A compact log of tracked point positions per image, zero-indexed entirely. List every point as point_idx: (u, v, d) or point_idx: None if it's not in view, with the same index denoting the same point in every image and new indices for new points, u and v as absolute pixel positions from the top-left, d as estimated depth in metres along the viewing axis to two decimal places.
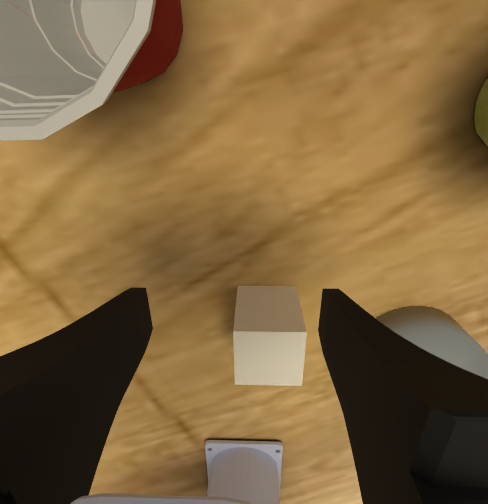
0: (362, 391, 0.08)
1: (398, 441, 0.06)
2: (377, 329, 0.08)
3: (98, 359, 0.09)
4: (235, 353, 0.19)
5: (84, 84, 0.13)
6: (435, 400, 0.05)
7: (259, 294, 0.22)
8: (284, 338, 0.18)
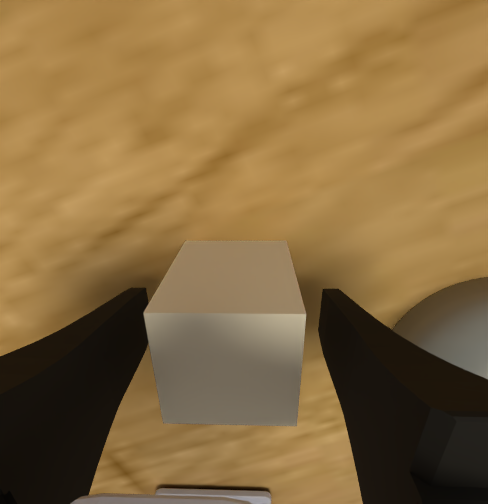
0: (362, 391, 0.08)
1: (398, 441, 0.06)
2: (377, 329, 0.08)
3: (98, 359, 0.09)
4: (155, 361, 0.09)
5: None
6: (435, 401, 0.05)
7: (220, 251, 0.12)
8: (257, 328, 0.08)
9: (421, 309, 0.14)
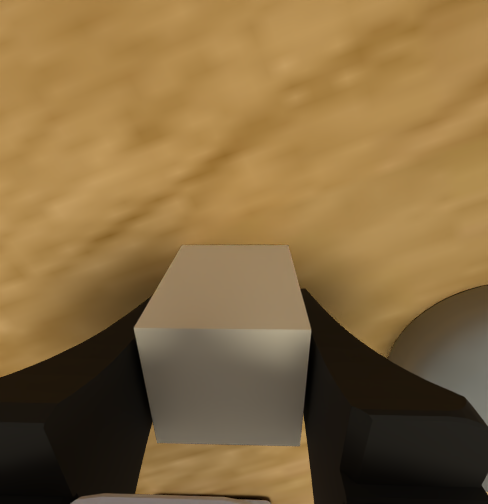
0: (314, 390, 0.08)
1: (334, 439, 0.06)
2: (331, 329, 0.08)
3: None
4: (147, 379, 0.08)
5: None
6: (359, 399, 0.05)
7: (218, 257, 0.11)
8: (257, 344, 0.08)
9: (428, 322, 0.13)
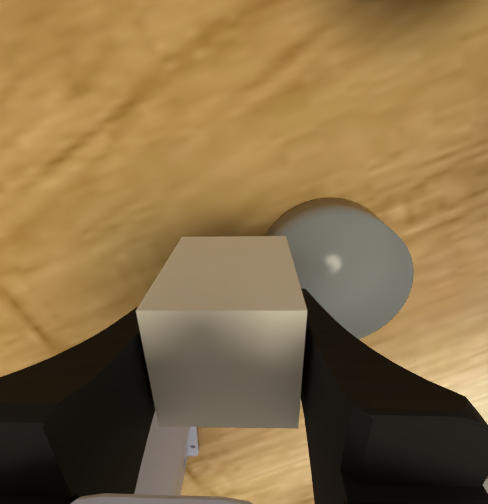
0: (314, 390, 0.08)
1: (334, 439, 0.06)
2: (332, 329, 0.08)
3: (141, 360, 0.09)
4: (149, 361, 0.09)
5: None
6: (360, 399, 0.05)
7: (217, 247, 0.12)
8: (256, 325, 0.08)
9: (273, 228, 0.19)
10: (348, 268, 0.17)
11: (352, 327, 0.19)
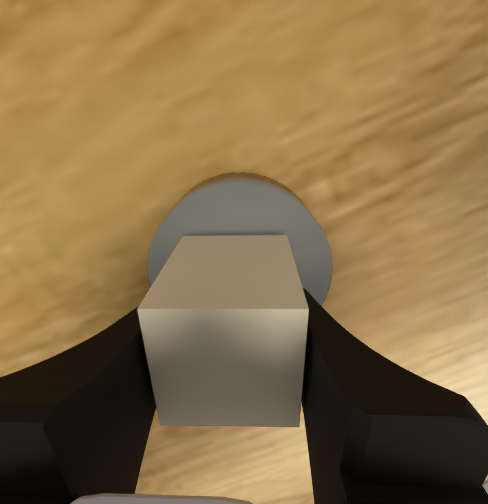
0: (314, 390, 0.08)
1: (334, 440, 0.06)
2: (331, 329, 0.08)
3: (141, 360, 0.09)
4: (150, 360, 0.09)
5: None
6: (359, 399, 0.05)
7: (218, 246, 0.12)
8: (257, 324, 0.08)
9: None
10: None
11: None
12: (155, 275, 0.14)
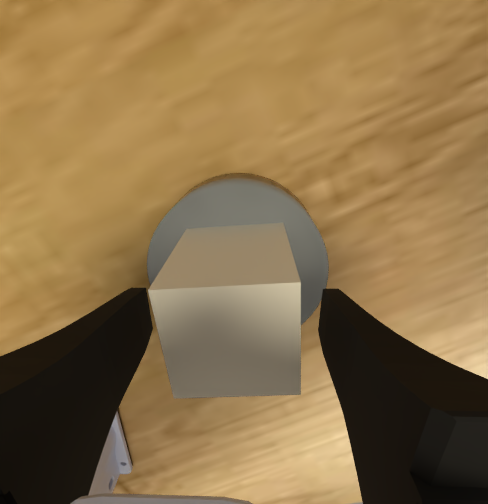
0: (362, 391, 0.08)
1: (398, 442, 0.06)
2: (377, 329, 0.08)
3: (98, 359, 0.09)
4: (162, 337, 0.09)
5: None
6: (436, 401, 0.05)
7: (219, 235, 0.13)
8: (255, 299, 0.09)
9: None
10: None
11: None
12: (155, 277, 0.15)
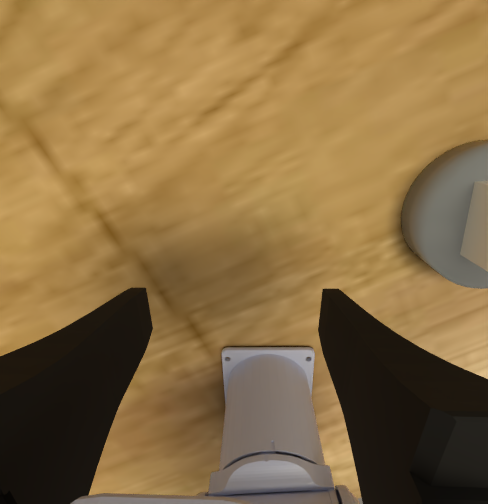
0: (362, 391, 0.08)
1: (398, 441, 0.06)
2: (377, 329, 0.08)
3: (98, 359, 0.09)
4: None
5: None
6: (435, 400, 0.05)
7: None
8: None
9: (417, 181, 0.20)
10: None
11: None
12: (432, 225, 0.18)
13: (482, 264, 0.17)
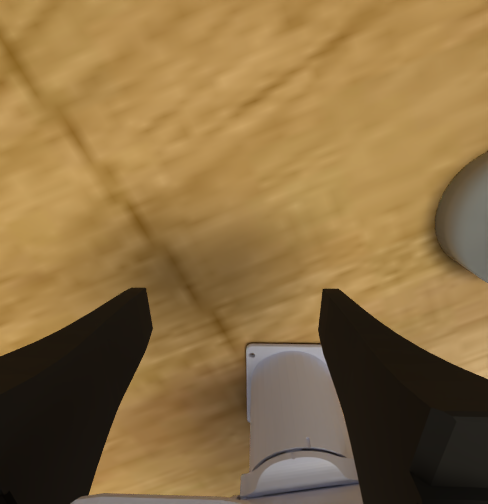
0: (362, 391, 0.08)
1: (398, 441, 0.06)
2: (377, 329, 0.08)
3: (98, 359, 0.09)
4: None
5: None
6: (435, 401, 0.05)
7: None
8: None
9: (454, 181, 0.20)
10: None
11: None
12: (473, 225, 0.18)
13: None
